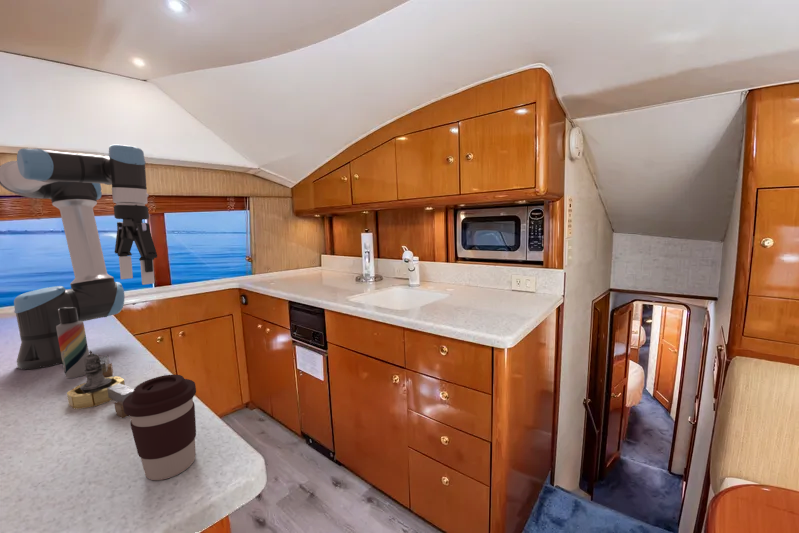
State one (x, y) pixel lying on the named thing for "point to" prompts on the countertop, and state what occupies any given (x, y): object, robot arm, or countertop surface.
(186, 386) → the coffee cup
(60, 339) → the lotion bottle
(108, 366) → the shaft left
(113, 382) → the brass collar
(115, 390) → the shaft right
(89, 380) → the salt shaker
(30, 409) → the countertop surface
